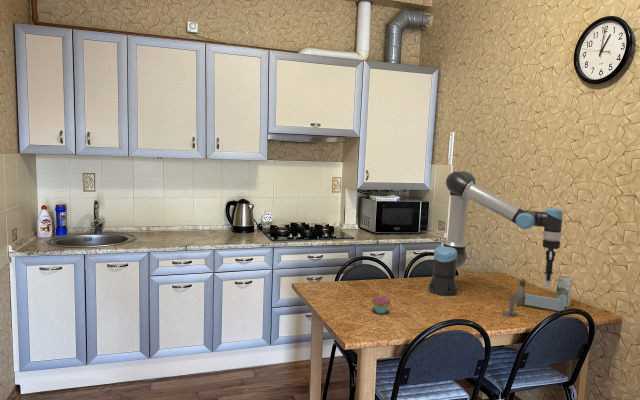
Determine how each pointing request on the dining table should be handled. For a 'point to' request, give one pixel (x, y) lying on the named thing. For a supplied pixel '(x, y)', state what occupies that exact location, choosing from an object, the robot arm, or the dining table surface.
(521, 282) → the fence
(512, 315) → the post
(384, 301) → the cupcake
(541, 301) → the gate
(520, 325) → the dining table surface
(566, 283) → the syrup box
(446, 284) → the robot arm
